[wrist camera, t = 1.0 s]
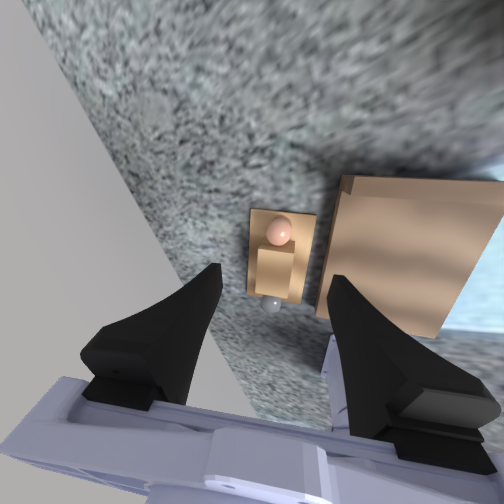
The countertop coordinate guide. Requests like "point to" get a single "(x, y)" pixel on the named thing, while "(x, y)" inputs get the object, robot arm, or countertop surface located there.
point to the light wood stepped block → (409, 244)
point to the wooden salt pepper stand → (278, 256)
